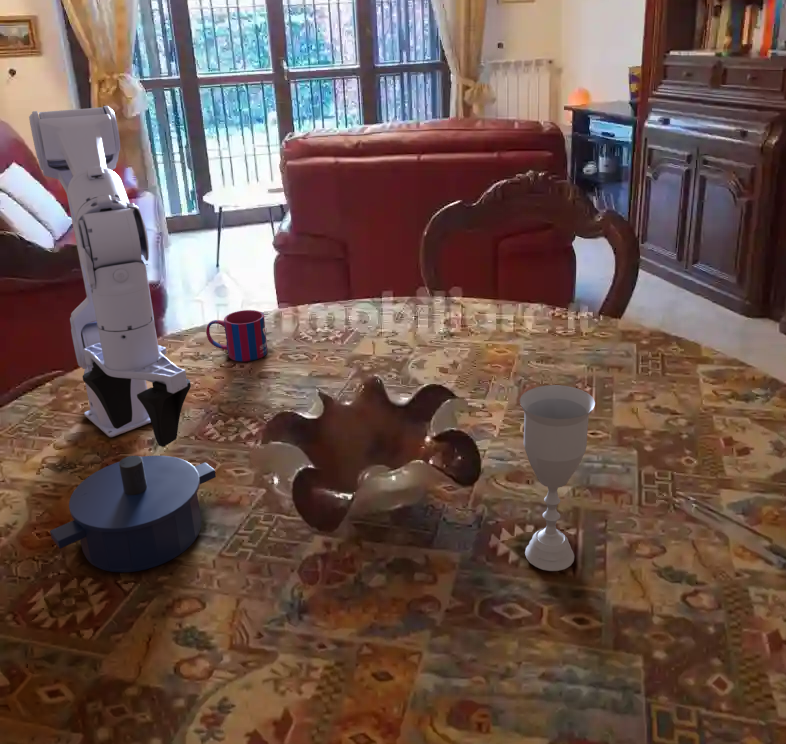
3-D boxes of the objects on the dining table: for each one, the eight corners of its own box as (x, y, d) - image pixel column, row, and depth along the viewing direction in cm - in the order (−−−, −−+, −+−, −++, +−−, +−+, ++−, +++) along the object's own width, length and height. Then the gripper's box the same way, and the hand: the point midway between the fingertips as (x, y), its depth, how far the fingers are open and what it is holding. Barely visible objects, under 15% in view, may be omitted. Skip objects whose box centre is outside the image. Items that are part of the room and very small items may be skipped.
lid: (70, 480, 86) (62, 445, 84) (191, 453, 91) (186, 419, 89) (71, 551, 74) (62, 512, 72) (209, 515, 79) (204, 478, 77)
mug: (261, 362, 126) (257, 324, 124) (204, 361, 127) (199, 324, 125) (272, 346, 132) (268, 309, 130) (217, 345, 133) (212, 309, 131)
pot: (41, 545, 83) (31, 503, 81) (188, 478, 94) (183, 441, 92) (85, 604, 74) (76, 559, 72) (242, 522, 85) (237, 482, 83)
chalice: (541, 586, 74) (549, 426, 68) (501, 547, 80) (505, 396, 73) (598, 561, 77) (610, 406, 71) (556, 525, 83) (564, 379, 77)
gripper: (201, 321, 79) (216, 433, 84) (113, 298, 87) (131, 402, 91) (148, 345, 74) (167, 463, 78) (59, 318, 81) (81, 428, 86)
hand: (144, 433), depth 84 cm, fingers open, 7 cm apart
